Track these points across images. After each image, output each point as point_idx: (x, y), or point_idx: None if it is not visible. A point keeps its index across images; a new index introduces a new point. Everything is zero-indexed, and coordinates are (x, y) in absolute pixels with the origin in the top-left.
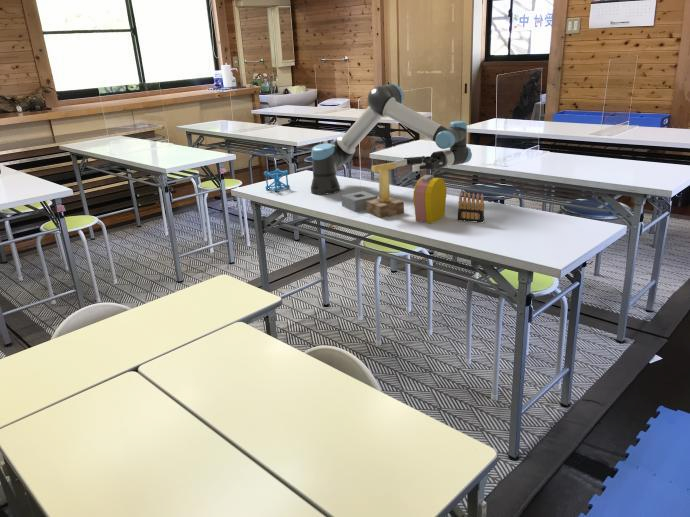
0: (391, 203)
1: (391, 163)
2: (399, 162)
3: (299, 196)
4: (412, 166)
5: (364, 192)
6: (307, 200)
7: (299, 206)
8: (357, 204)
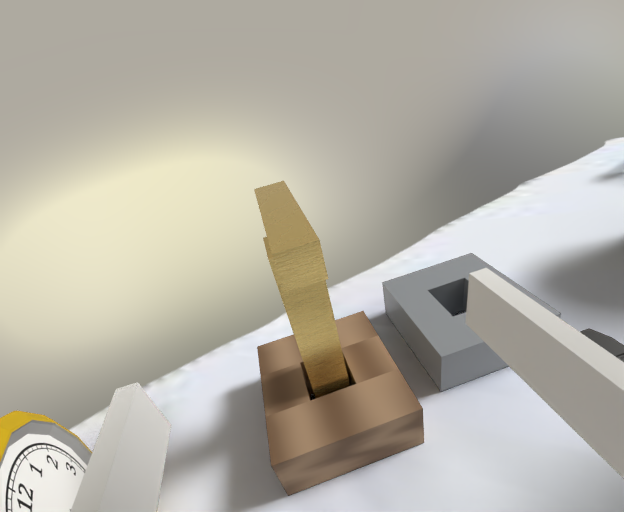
0: (278, 394)
1: (277, 234)
2: (514, 330)
3: (595, 203)
4: (139, 392)
5: None
6: (542, 219)
7: (470, 214)
8: (388, 302)
